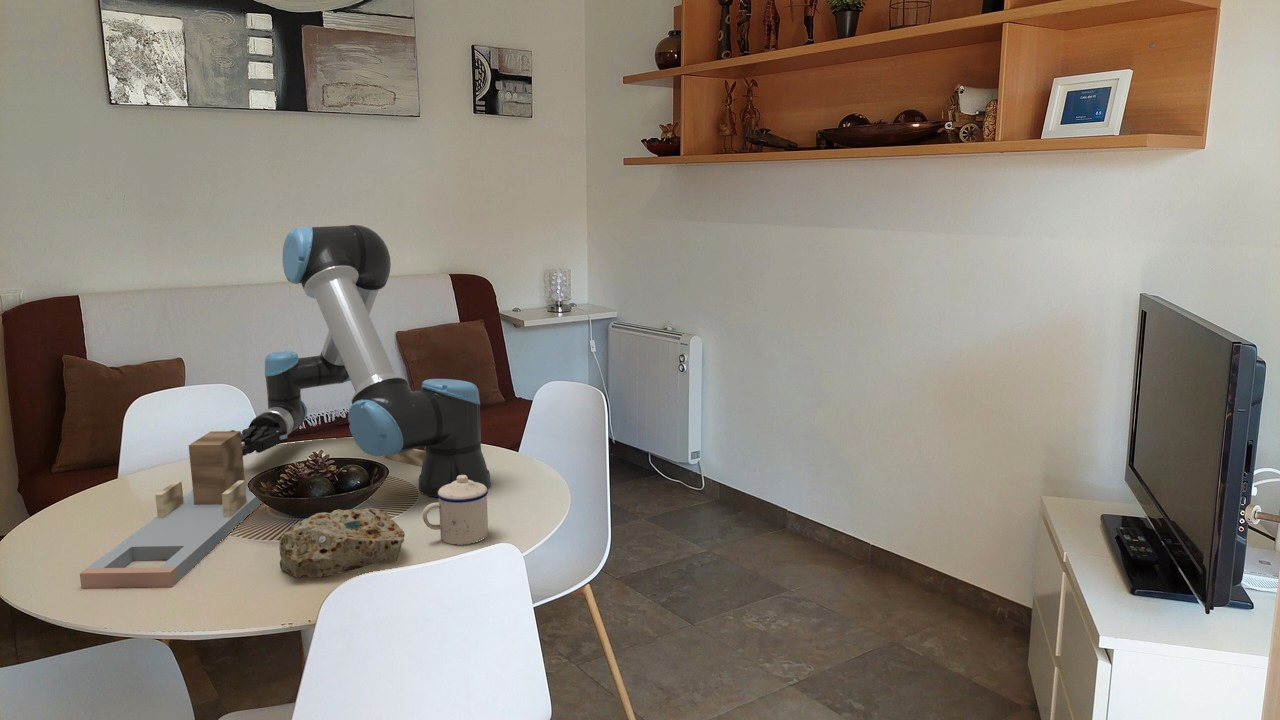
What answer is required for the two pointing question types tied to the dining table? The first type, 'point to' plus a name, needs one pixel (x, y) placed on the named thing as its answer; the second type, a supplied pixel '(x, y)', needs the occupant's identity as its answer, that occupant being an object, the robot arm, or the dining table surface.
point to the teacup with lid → (461, 511)
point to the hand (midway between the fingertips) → (229, 457)
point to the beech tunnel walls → (174, 498)
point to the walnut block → (215, 465)
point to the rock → (340, 542)
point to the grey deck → (167, 546)
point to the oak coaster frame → (409, 457)
